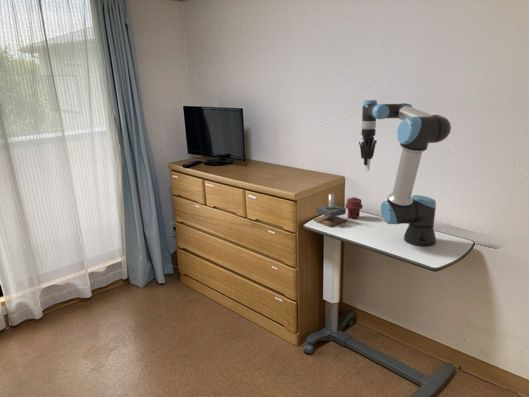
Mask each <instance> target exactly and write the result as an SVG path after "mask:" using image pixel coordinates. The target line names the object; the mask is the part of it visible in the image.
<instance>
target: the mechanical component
mask: <svg viewBox="0 0 529 397" xmlns="http://www.w3.org/2000/svg"><path fill="white" fill-rule="evenodd" d="M344 206H345V209H346V210H347V219H353V220H358V217H360V212H361V211H360V210H362V209H363V204H362V199H360V198H358V197H355V196H352V197H351V198H350V197H349V198H347V199H346V203H345V205H344Z"/></svg>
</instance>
